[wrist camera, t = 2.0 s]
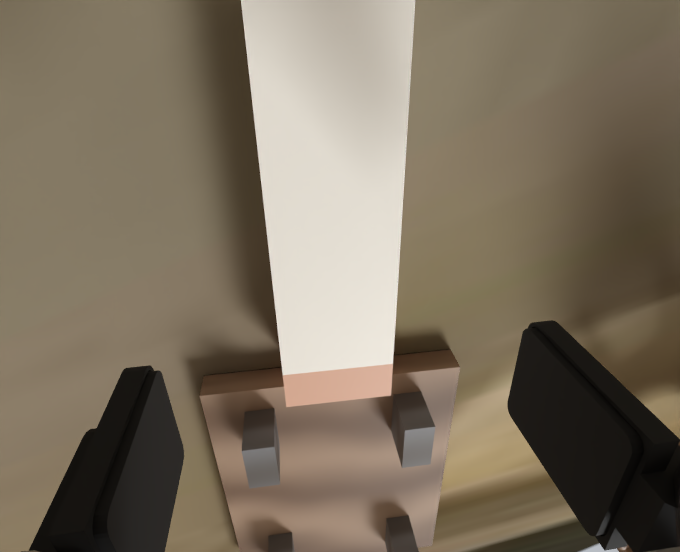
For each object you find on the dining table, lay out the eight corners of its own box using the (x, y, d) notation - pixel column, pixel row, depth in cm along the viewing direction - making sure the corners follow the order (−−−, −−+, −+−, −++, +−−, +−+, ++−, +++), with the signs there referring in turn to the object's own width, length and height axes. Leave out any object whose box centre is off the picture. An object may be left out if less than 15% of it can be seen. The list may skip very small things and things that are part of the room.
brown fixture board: (203, 375, 23) (191, 435, 20) (450, 349, 25) (478, 400, 21) (247, 552, 32) (243, 614, 29) (426, 525, 34) (443, 582, 30)
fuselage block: (248, 6, 15) (240, -1, 12) (384, 4, 16) (415, -3, 12) (284, 351, 23) (286, 407, 20) (374, 342, 24) (391, 395, 20)
